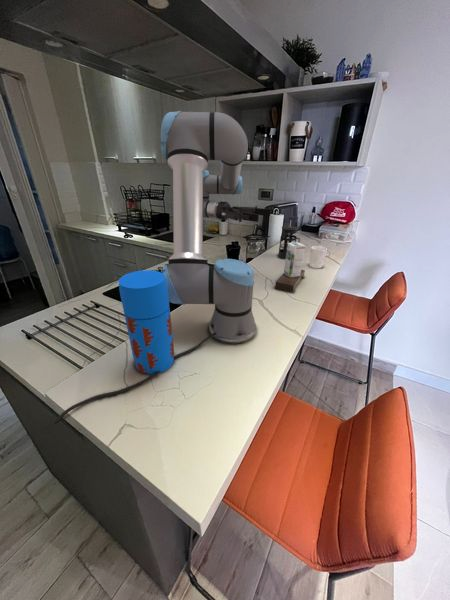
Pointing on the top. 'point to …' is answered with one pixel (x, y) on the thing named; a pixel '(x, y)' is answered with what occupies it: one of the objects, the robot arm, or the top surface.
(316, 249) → the white cup
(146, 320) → the thermos
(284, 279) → the brown rectangular block
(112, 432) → the top surface
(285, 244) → the french press
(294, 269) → the syrup box
